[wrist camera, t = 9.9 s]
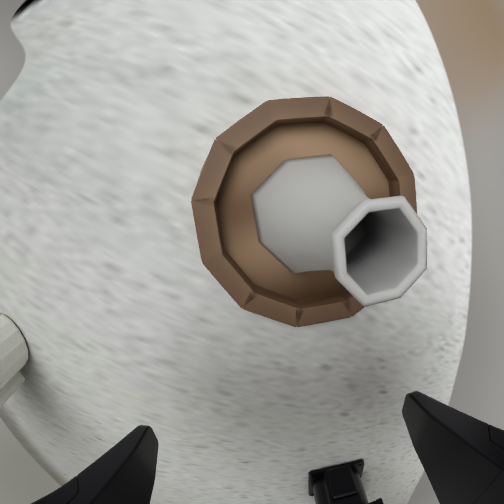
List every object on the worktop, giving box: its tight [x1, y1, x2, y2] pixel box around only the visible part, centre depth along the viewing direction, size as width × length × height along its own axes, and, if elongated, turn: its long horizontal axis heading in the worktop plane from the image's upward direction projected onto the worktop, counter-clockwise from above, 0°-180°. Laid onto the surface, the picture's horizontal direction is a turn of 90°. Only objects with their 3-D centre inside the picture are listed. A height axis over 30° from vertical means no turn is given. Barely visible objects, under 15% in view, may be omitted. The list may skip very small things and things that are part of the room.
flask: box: [251, 154, 427, 307], centre depth 12 cm, size 7×7×10 cm
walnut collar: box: [191, 97, 417, 327], centre depth 17 cm, size 14×14×2 cm
